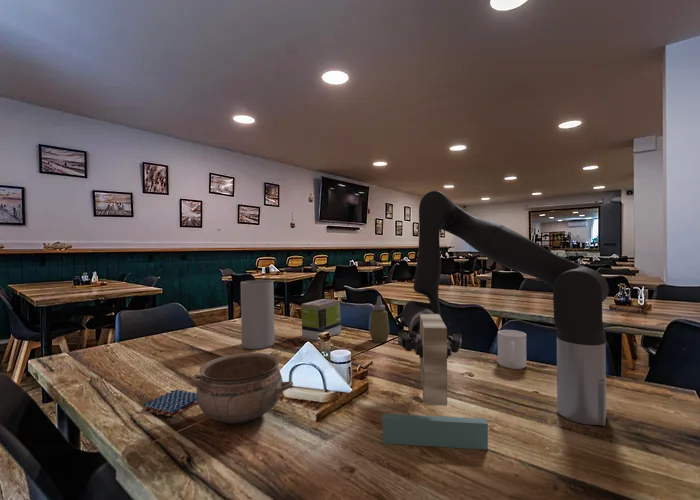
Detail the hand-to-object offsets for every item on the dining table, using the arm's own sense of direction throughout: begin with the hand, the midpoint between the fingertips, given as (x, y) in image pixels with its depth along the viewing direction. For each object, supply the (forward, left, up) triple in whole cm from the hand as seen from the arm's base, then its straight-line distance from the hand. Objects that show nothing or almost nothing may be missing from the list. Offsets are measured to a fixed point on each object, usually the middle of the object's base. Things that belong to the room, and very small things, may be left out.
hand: (433, 352), depth 67 cm
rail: (+1, -2, -19) cm, 19 cm away
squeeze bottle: (+49, -57, -19) cm, 78 cm away
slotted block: (+1, -2, -8) cm, 9 cm away
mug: (-1, -56, -19) cm, 60 cm away
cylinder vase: (+85, -25, -19) cm, 91 cm away
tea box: (+74, -50, -19) cm, 92 cm away
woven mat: (+60, +20, -20) cm, 66 cm away
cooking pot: (+41, +14, -19) cm, 47 cm away
